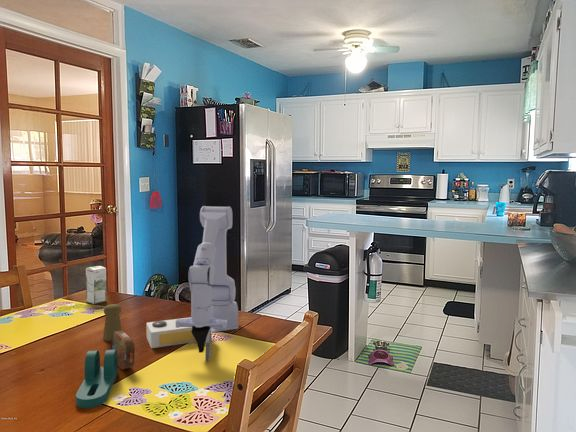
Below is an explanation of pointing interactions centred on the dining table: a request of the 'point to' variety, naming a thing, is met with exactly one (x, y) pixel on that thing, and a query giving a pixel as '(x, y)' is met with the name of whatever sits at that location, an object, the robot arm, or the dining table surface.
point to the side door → (208, 346)
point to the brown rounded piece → (123, 349)
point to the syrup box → (96, 284)
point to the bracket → (97, 379)
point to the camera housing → (168, 333)
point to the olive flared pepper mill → (111, 320)
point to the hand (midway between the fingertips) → (201, 351)
